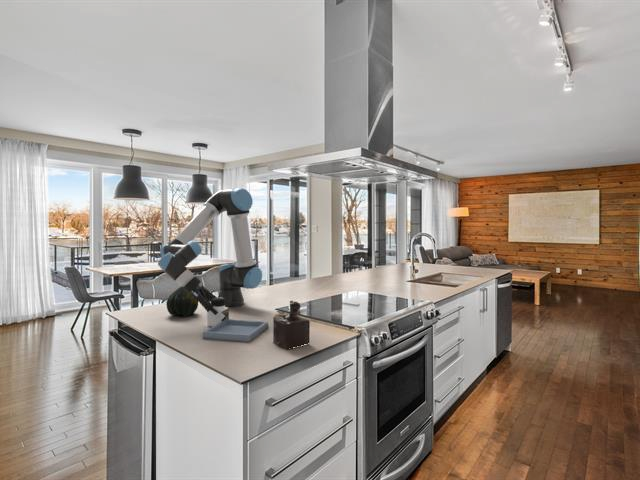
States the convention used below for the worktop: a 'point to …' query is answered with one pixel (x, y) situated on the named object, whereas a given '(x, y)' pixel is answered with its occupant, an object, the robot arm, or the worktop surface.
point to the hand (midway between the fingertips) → (224, 315)
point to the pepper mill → (291, 328)
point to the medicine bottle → (220, 305)
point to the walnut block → (278, 315)
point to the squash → (181, 303)
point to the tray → (235, 330)
